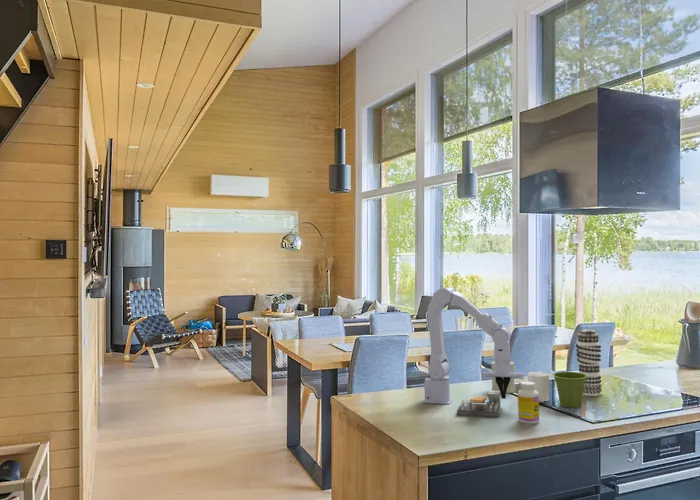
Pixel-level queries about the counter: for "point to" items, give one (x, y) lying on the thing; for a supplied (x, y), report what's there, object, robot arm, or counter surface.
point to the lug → (494, 397)
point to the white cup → (540, 384)
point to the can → (511, 385)
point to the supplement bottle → (528, 403)
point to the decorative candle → (589, 361)
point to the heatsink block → (479, 409)
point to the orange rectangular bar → (478, 399)
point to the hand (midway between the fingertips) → (503, 397)
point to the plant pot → (570, 388)
